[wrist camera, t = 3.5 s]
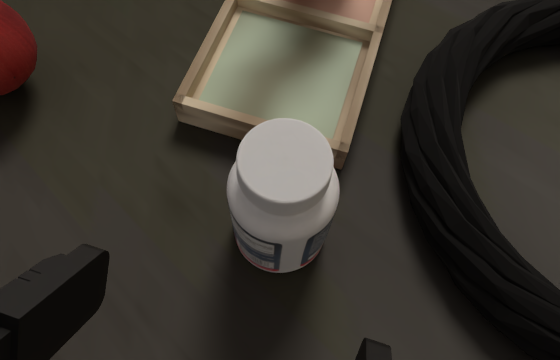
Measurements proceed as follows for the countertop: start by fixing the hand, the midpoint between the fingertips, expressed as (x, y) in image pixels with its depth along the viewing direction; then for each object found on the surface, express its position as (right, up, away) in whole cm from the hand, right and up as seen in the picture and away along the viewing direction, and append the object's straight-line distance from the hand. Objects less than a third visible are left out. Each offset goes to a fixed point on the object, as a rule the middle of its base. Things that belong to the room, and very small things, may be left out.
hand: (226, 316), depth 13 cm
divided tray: (+3, +15, +19) cm, 24 cm away
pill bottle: (+2, +1, +13) cm, 13 cm away
